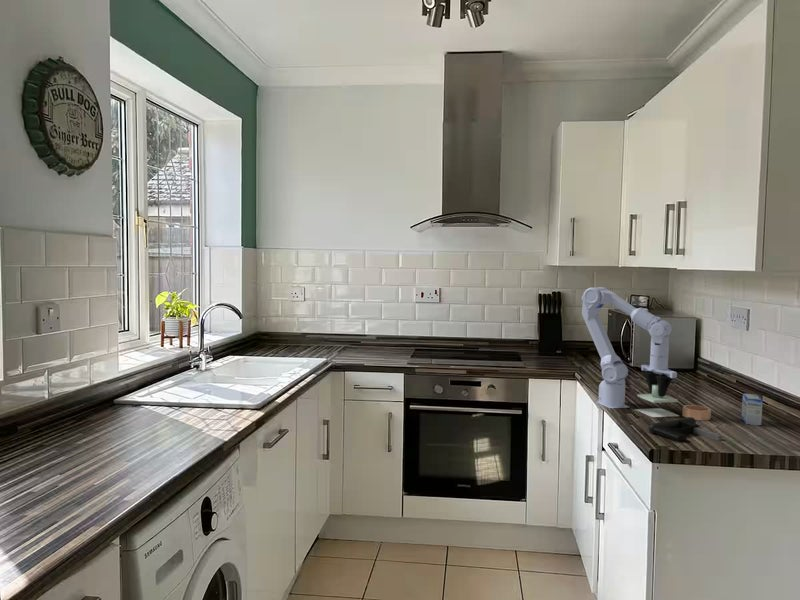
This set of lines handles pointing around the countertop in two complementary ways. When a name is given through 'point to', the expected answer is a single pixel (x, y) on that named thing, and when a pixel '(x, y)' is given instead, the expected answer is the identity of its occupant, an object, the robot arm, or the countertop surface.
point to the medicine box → (752, 409)
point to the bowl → (697, 412)
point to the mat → (656, 412)
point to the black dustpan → (681, 429)
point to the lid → (656, 396)
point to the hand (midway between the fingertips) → (657, 394)
